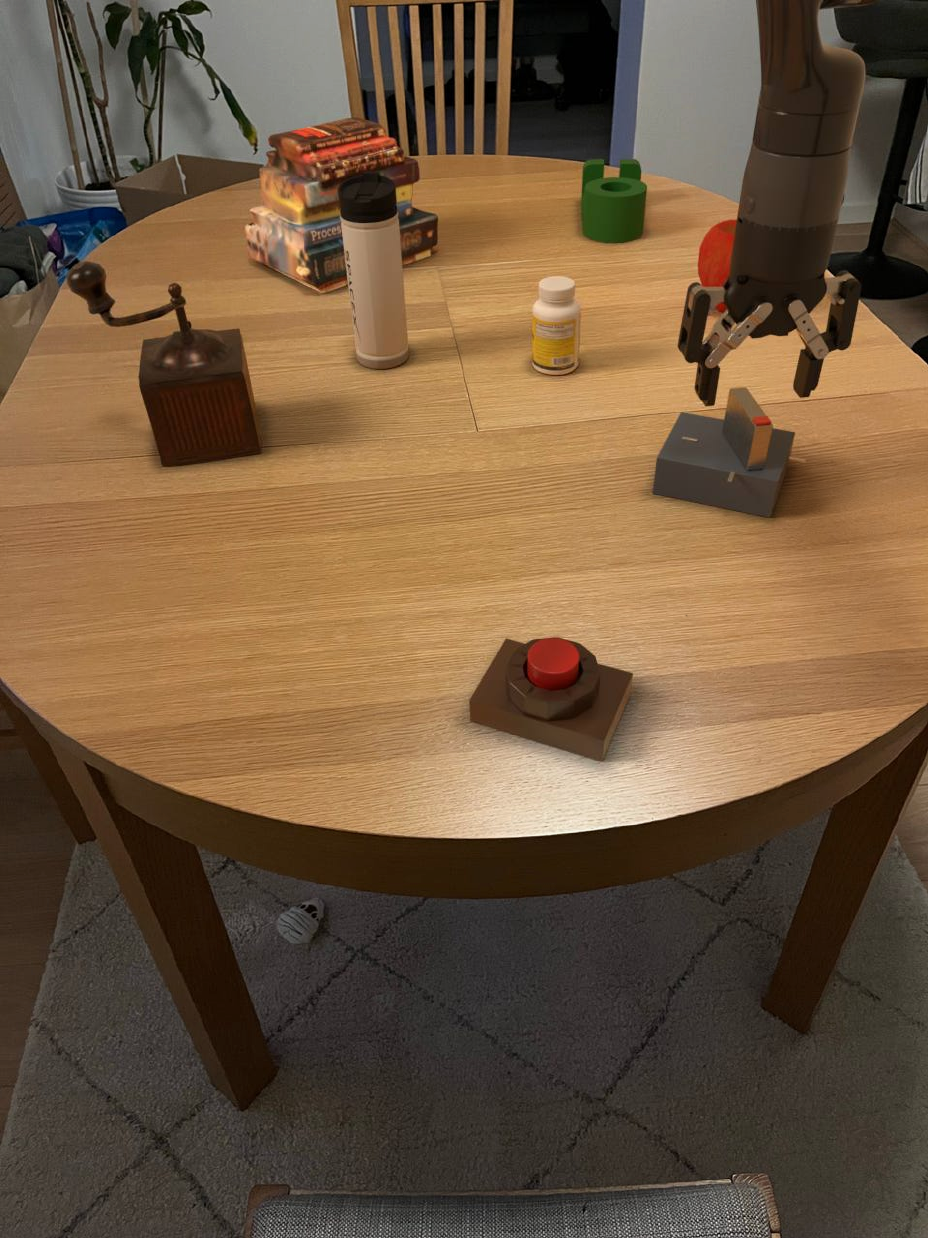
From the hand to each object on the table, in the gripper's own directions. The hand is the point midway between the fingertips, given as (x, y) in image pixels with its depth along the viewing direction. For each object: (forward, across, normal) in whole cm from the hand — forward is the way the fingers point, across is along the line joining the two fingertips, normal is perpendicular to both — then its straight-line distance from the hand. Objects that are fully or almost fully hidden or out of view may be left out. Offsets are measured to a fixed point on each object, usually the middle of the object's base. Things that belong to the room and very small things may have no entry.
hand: (753, 397), depth 82 cm
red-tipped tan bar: (+5, 0, 0) cm, 5 cm away
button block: (+10, +22, +26) cm, 35 cm away
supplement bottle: (+9, +12, -28) cm, 32 cm away
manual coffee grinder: (+9, +54, -18) cm, 58 cm away
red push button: (+6, +22, +26) cm, 35 cm away
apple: (+9, -12, -39) cm, 42 cm away
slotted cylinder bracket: (+9, -4, -73) cm, 74 cm away
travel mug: (+9, +32, -33) cm, 47 cm away
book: (+9, +37, -66) cm, 76 cm away
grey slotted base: (+9, +1, -1) cm, 10 cm away
